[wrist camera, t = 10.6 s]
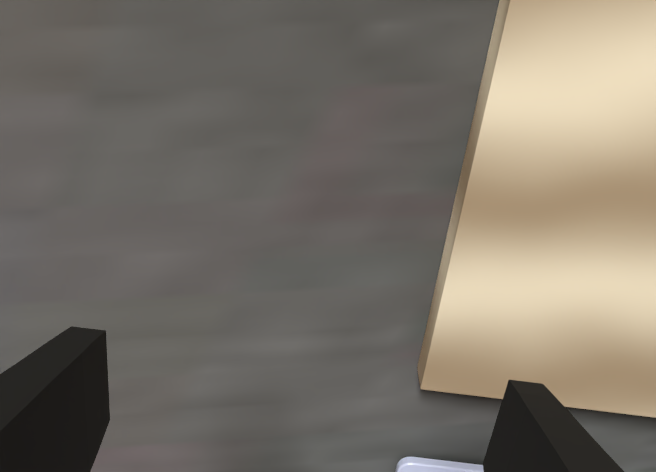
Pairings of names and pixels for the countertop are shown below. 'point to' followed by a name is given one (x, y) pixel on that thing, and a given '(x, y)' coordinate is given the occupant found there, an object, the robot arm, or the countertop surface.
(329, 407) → the countertop surface
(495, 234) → the board
